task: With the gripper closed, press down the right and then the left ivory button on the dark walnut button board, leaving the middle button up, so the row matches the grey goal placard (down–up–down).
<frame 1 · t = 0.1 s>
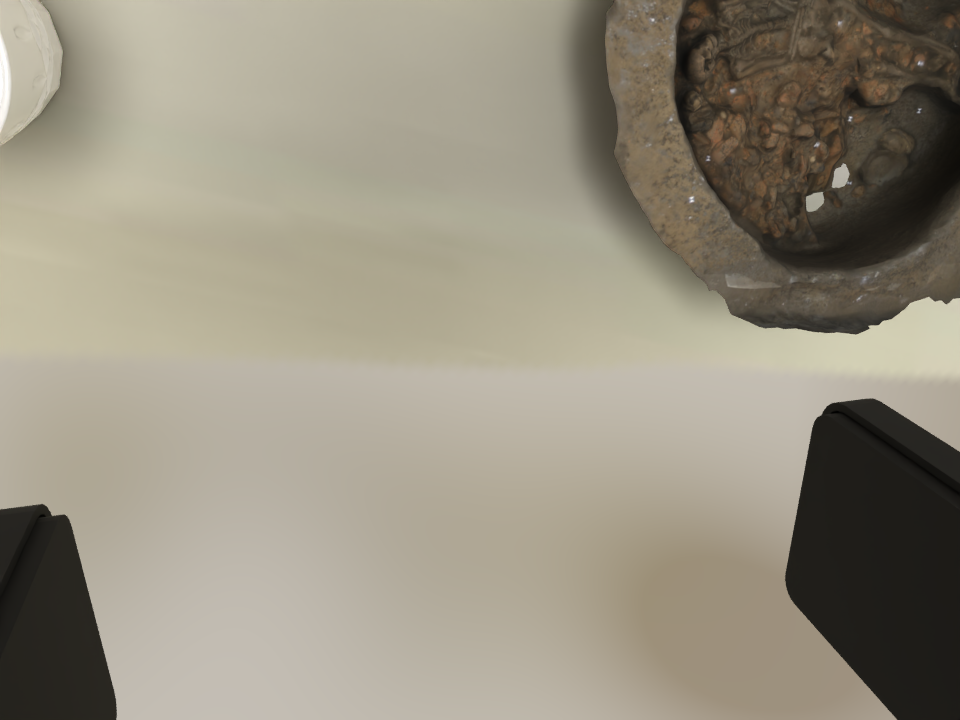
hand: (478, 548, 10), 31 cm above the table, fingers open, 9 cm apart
stone bowl: (783, 55, 42), on the table
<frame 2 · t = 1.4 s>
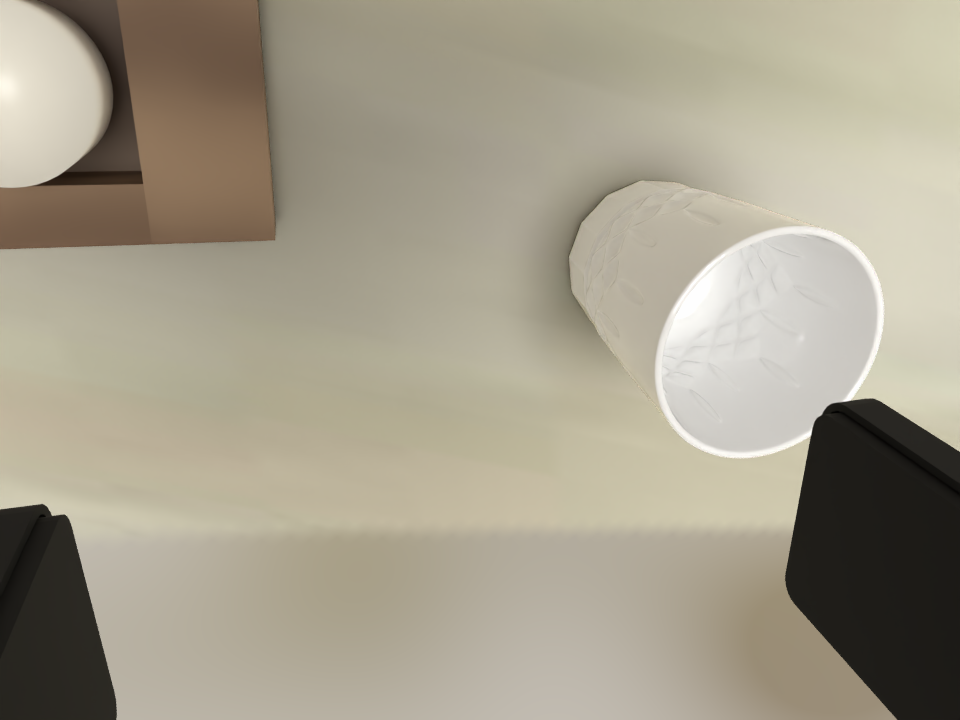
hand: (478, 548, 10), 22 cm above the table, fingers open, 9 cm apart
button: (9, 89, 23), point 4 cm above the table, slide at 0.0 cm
white cup: (640, 256, 34), on the table
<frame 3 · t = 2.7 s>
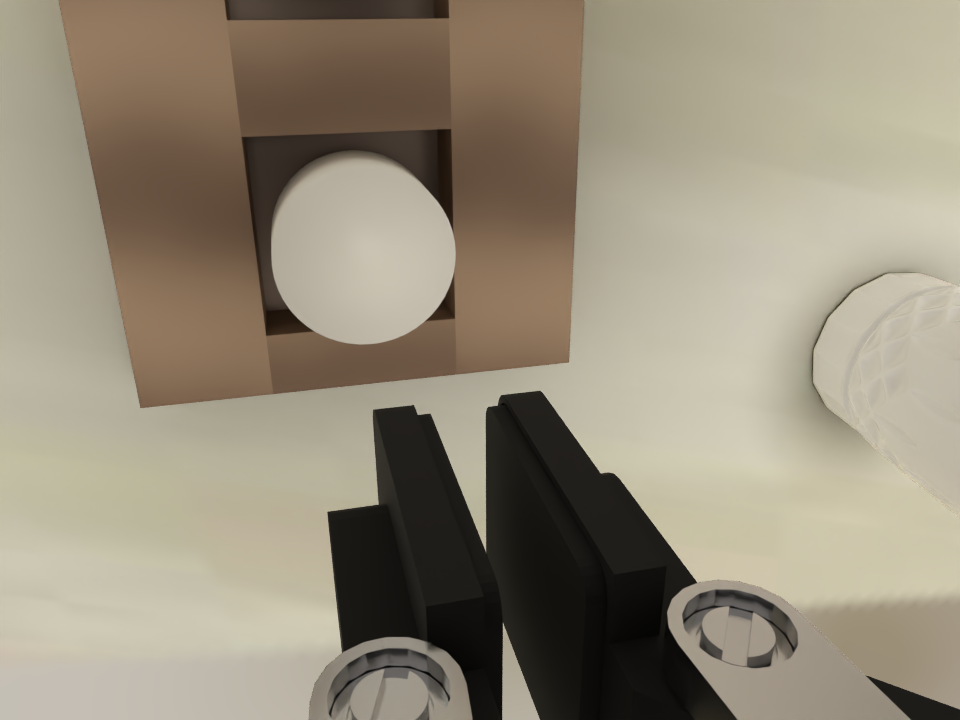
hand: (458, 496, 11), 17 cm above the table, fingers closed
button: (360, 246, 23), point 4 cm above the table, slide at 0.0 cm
white cup: (877, 344, 34), on the table
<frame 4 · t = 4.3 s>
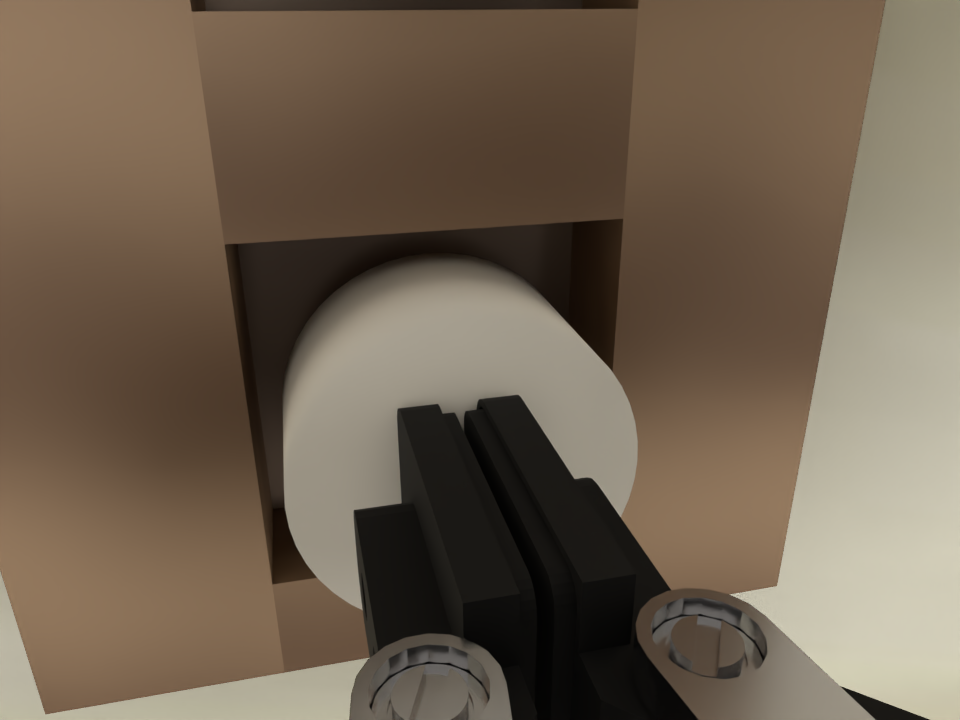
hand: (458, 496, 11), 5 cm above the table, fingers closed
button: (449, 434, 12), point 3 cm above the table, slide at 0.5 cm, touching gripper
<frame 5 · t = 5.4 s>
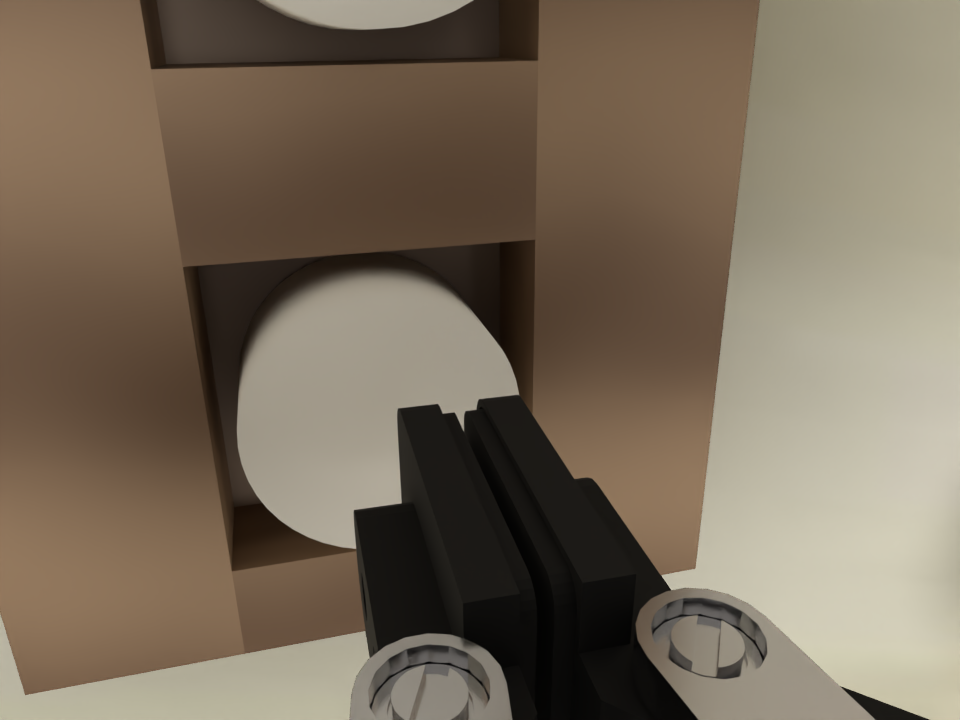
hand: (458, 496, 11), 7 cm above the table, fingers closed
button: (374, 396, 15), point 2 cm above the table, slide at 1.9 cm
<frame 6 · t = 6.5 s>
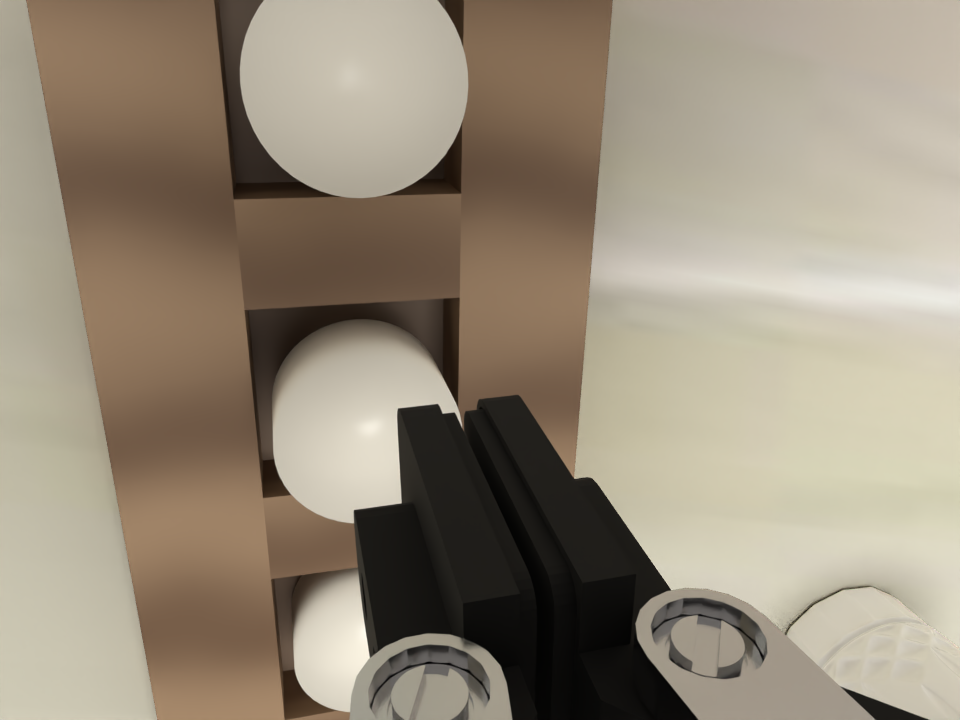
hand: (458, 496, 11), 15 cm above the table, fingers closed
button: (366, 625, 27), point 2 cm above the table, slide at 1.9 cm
button board: (350, 366, 26), on the table
button mid: (364, 419, 22), point 4 cm above the table, slide at 0.0 cm
white cup: (834, 640, 37), on the table
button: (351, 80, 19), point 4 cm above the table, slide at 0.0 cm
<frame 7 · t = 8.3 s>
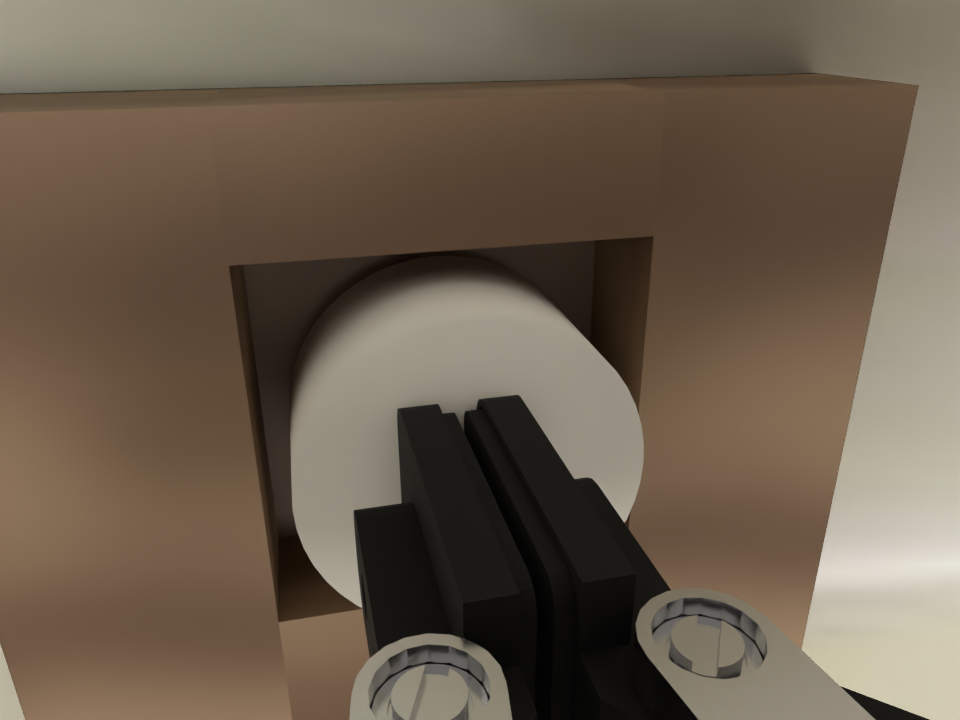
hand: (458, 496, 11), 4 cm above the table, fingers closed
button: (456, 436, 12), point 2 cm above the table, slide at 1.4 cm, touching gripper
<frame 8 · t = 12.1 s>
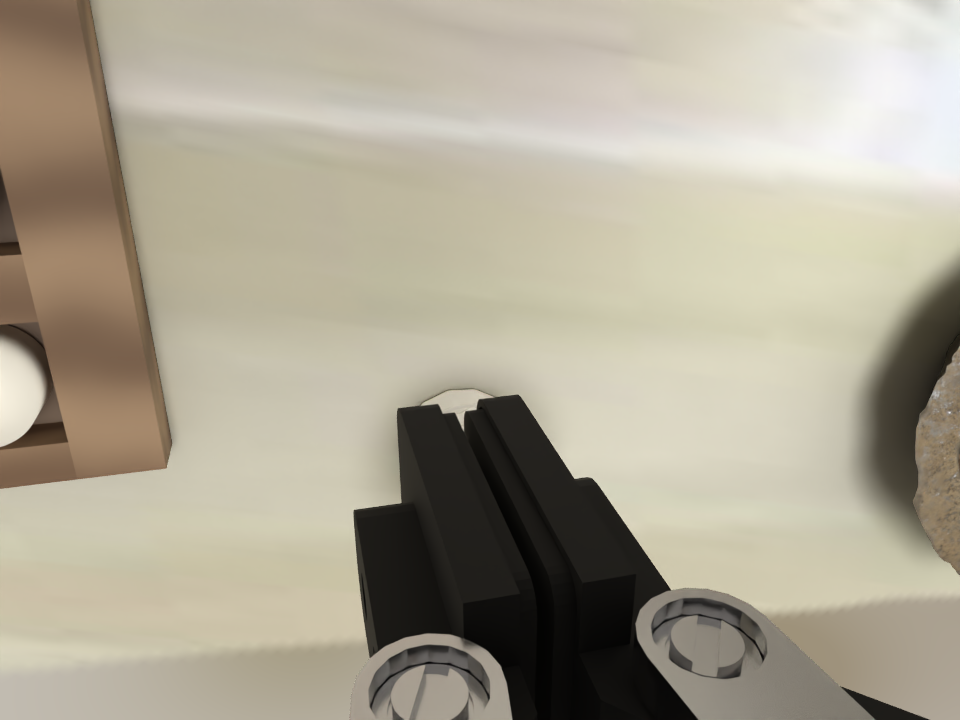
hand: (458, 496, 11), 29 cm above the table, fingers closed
white cup: (457, 439, 45), on the table
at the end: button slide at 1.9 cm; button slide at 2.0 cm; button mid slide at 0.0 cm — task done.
